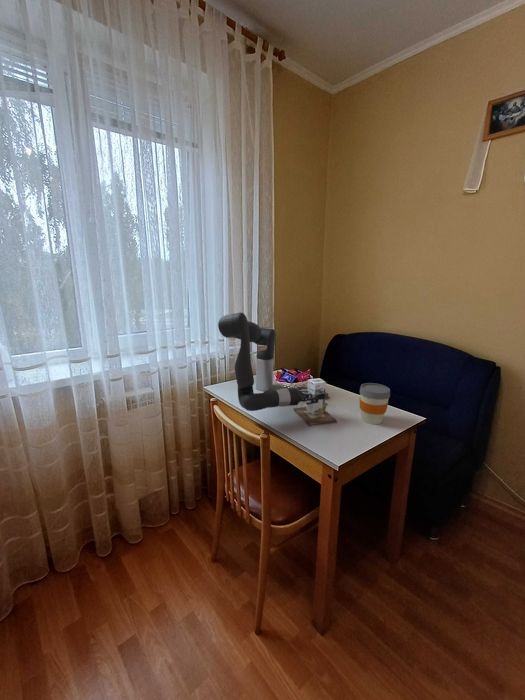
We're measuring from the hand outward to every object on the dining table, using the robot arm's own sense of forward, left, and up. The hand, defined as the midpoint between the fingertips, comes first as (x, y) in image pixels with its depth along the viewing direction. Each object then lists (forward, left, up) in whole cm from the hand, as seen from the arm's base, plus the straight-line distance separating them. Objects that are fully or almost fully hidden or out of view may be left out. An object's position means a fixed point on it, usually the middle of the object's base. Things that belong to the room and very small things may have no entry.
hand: (320, 393), depth 140 cm
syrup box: (0, -3, -8) cm, 9 cm away
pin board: (0, -2, -11) cm, 11 cm away
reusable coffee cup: (+10, +21, -11) cm, 25 cm away
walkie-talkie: (-18, +10, -11) cm, 24 cm away
